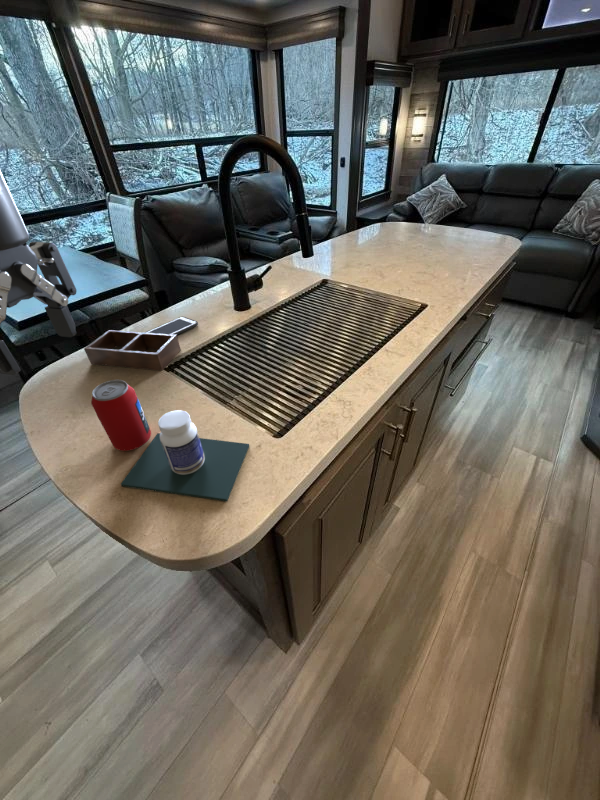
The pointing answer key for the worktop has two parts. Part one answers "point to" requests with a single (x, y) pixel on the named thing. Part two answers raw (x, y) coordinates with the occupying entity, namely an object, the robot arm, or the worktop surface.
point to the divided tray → (133, 349)
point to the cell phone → (174, 326)
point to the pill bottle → (181, 442)
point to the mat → (203, 483)
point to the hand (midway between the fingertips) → (41, 352)
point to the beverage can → (121, 415)
